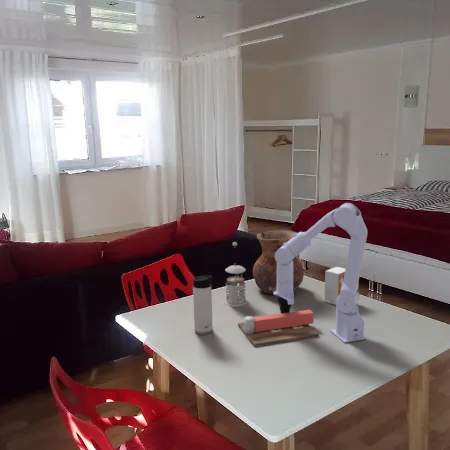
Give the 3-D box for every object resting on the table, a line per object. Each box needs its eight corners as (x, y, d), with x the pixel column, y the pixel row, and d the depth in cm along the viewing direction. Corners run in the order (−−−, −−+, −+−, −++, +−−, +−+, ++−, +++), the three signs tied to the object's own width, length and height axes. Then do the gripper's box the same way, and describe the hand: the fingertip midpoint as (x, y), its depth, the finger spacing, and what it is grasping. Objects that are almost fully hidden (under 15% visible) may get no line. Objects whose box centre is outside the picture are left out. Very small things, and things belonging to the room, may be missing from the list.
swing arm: (313, 323, 160) (314, 311, 159) (246, 333, 153) (246, 321, 152) (309, 319, 163) (309, 307, 162) (242, 329, 157) (242, 317, 156)
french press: (220, 305, 182) (219, 244, 177) (229, 295, 193) (227, 237, 188) (244, 307, 179) (243, 245, 174) (251, 297, 190) (251, 238, 185)
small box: (337, 305, 179) (338, 274, 176) (324, 301, 184) (324, 270, 181) (348, 300, 185) (350, 269, 182) (335, 296, 189) (336, 266, 186)
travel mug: (211, 335, 156) (209, 279, 152) (192, 334, 157) (190, 278, 153) (215, 327, 162) (213, 273, 158) (197, 326, 163) (195, 272, 159)
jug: (242, 290, 199) (241, 234, 194) (273, 278, 213) (273, 225, 208) (283, 302, 183) (283, 242, 178) (313, 289, 198) (314, 232, 193)
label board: (318, 336, 153) (318, 333, 153) (253, 346, 147) (253, 343, 147) (297, 317, 169) (297, 314, 169) (237, 325, 163) (237, 322, 163)
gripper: (268, 274, 166) (268, 309, 169) (279, 287, 152) (279, 325, 155) (287, 272, 167) (286, 307, 170) (300, 285, 153) (299, 323, 156)
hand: (284, 316), depth 163 cm, fingers closed
